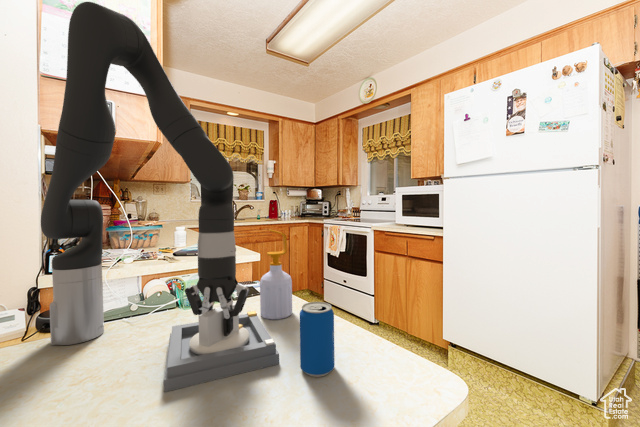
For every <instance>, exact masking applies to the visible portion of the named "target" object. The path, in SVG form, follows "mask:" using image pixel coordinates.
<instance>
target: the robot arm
mask: <svg viewBox="0 0 640 427" xmlns="http://www.w3.org/2000/svg"><path fill="white" fill-rule="evenodd" d="M148 39H149V38H148V37H147V36H146V34H145V32H144V31H143V29H142V28H141V27H140V25H139V24H138V23H137V22H136V21H134V20H133V19H132V18H130V17H128V16H127V15H125V14H123V13H120V12H117V11H115V10H113V9H110V8H108V7H106V6H103V5H101V4H99V3H97V2H96V3H95V2H92V1H83V2H81V3H79V4H78V5H77V6H75V8H74V9H73V10H72V13H71V16H70V19H69V23H68V33H67V56H66V58H67V61H66V80H65V87H64V94H63V103H62V109H61V113H60V119H59V123H58V129H57V134H56V142H55V150H54V151H55V152H54V160H53V166H52V171H51V176H50V181H49V184H48V188H47V191H46V194H45V199H44V202H43V206H42V209H41V215H40V229H41V232H42V234H43V235H44V236H45V237H46V238H47V239H50V240H51V239H52V240H64V239H66V240H67V239H81V240H80V242H79V244H77V245H75V246H74V247H72V248H70V249H69V250H65V251H64V252H62V253H61V252H60V253H58V254H56V255H55V256H53V257H52V260H51V269H52V270H51V271H52V272H51V273H52V275H51V276H52V294H53V295H52V298H53V299H52V301H51V302H50V303H49V326H50V328H49V330H50V346H56V345H57V346H58V345H59V346H67V345H68V346H69V345H76V344H80V343H85V342H88V341H90V340H94V339H95V338H97V337H100V336H102V335H103V334H104V332H105V319H104V318H105V317H104V292H103V291H104V289H103V260H102V258H103V248H104V247H103V246H104V245H103V239H104V238H103V237H104V236H103V234H104V212H103V208H102V206H101V204H100V203H99V201H97V200H96V199H95V200H94V199H72V197H73V195H74V193H75V192H76V191H77V189H78V188H80V186H81V185H82V184H83V183H85V182H86V181H87V180H88V179H89V178H91V177H92V176H94V175H95V174H96V173H97V172H98V171H99V170H100V169H101V168H103V167H104V166H105V165H106V163H107V162H108V161H109V160H110V158H111V156H112V151H113V147H114V143H115V139H116V133H117V132H116V131H117V130H116V125H115V120H114V117H113V115H112V113H111V112H112V111H111V109H110V106H109V104H108V101H107V96H106V85H107V78H108V74H109V73H108V72H109V70H110V67H111V65H115V66H119V67H123V68H124V69H125V70H127V71H128V72H129V73H130V75H131V76H133V78H134V79H135V80H136V81H137V83H138V85H140V86H141V88H142V90H143V92H144V95H145V96H146V99H147V102H148V103H147V104H148V107H149V111H150V114H151V117H152V120H153V121H154V123H155V125H156V127H157V128H158V130H159V131H160V133H161V134H162V136H164V137H165V139H166V140H167V142H168V143H169V144H170V145H171V147H172V148H173V149H174V150H175V152H176V153H177V154H178V155H179V156H180V157H181V158H182V160H183V162H184V163H185V165H186V166H187V167H188V169H189V171H190V172H191V174H192V175H193V177H194V178H195V179H196V181H197V182H198V183H199V185H200V206H199V209H198V216H197V217H198V238H197V276H198V281H197V282H196V284H193V285H191V286H188V287H186V288H185V289H184V293H185V296H186V298H187V301H188V304H189V307H190V308H191V310H192V313H193V315H194V316H197V315H198V316H199V315H201V314H203V313H205V312H208V311H210V310H212V309H214V305H215V303H219V306H221V309H223V314H224V319H223V335H224V336H228V335H229V334H230V333H231V332H232V331H233V316H237V315H238V314H239V315H240V313H242V311H243V309H244V307H245V304H246V301H247V298H248V296H249V293H250V290H251V289H250V286H248V285H246V286H243V285H241V284H239V281H238V280H237V278H236V276H237V275H236V274H237V273H236V272H237V269H236V267H237V258H236V257H237V256H236V255H237V254H236V253H237V247H236V238H235V237H236V236H235V218H234V216H235V214H234V209H233V208H234V207H233V202H234V200H233V198H234V172H233V167H232V166H231V164H230V163H229V161H228V160H227V158H226V157H225V156H224V155H223V153H222V152H221V151H220V150H219V149H218V148H217V146H216V145H215V144H214V143H213V142H212V141H211V140H210V138H209V137H208V135H207V133H206V131H205V130H204V129H203V127H202V125H201V124H200V123H199V121H198V120H197V119H196V117H195V116H194V115H193V114H192V112H191V110H190V109H189V108H188V106H186V105H187V104H185V103H184V101H183V100H182V98H181V96H180V95H179V93H178V91H177V90H176V89H175V88H174V85H173V83H172V82H171V80H170V79H169V76H168V75H167V72H166V71H165V69H164V68H163V66H162V64H161V62H160V60H159V58H158V57H157V54H156V53H155V51H154V49H153V46H152V45H151V43H150V41H149V40H148ZM235 291H236V296H237V300H236V302H235V303H236V304H235V307H234V308H233V302H234V299H233V296H232V295H234V293H235ZM200 293H201V295H202V296H203V298H201V297H200ZM202 299H203V300H202Z"/></svg>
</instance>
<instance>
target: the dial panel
mask: <svg viewBox="0 0 640 427" xmlns="http://www.w3.org/2000/svg"><path fill="white" fill-rule="evenodd" d="M239 324H241V325H243V328H246V329H247V330H248V331H249V341H248V342H247V344H246V345H244V346H242V347H237V348H232V349H228V350H223V351H218V352H213V353H209V354H204V355H197V354H195V353H193V352H191V350H190V345H189V342H190V339H191V338H192V337H193V336H194V335H196V334H197V333H199V321H196V322H189V323H185V324H178V325H173V326H171V333H170V334H169V340H168V347H167V354H166V362H165V371H164V378H163V387H164V390H163V392H164V393H167V392H170V391H175V390H177V389H178V390H179V389H183V388H186V387H191V386H195V385H200V384H203V383H207V382H211V381H216V380H218V379H219V380H220V379H222V378H227V377H232V376H235V375H239V374H243V373H247V372H252V371H256V370H259V369H264V368H268V367H272V366H277V365H279V364H280V353H279V351H278V350H277V344H276V342H275V341H274V340H275V339H274V338H272V336H271V335H270V333H269V331H268V330H267V329H266V327H265V325H264V324H263V323H262V321H261V319H260V318H259V316H258V313H257V311H255V310H252V311H247V313H246V314H239Z"/></svg>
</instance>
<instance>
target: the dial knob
mask: <svg viewBox="0 0 640 427" xmlns="http://www.w3.org/2000/svg"><path fill="white" fill-rule="evenodd" d="M235 304H236V302H234V301H233V308H234V307H235ZM239 315H240V313H239V314H238V315H237V316H233V331H232V332H231V333H230V334H229V335H228V336H224V335H223V319H224V314H223V309H221V306H220V305H219V306H217V307H215V308H213V309H212V310H210V311H208V312H205V313H203V314H201V315H198V316H197V317H198V322H199V333H197V334H196V335H194V336H193V337H192V338H191V339H190V342H189V345H190V350H191V352H193V353H195V354H197V355H204V354H209V353H213V352H218V351H223V350H228V349H232V348H237V347H242V346H244V345H246V344H247V342H248V341H249V331H248V330H247V329H246V328H243V325H241V324H239Z"/></svg>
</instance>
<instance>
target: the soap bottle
mask: <svg viewBox="0 0 640 427" xmlns="http://www.w3.org/2000/svg"><path fill="white" fill-rule="evenodd" d="M268 231H270V232H272V233H276V234H280V235H281V236H282V248H281V251H268V252H266V255H267V256H270V258H271V259H272V262H270V263H269V271H268V272H266V273H264V274H263V275H262V277H261V278H260V281H259V296H260V297H259V299H260V300H259V301H260V303H259V304H260V305H259V306H260V307H259V308H260V309H259V310H260V316H261V317H262V318H263V319H266V320H283V319H286V318H288V317H290V316H291V315H292V314H293V281H292V280H293V279H292V277H291V275H290V274H289V273H287V272H286V271H284V270H283V269H282V266H283V265H282V261H280V258H281V256H283V255H286V253H287V251H288V250H287V249H288V248H287V246H288V245H287V235H286V234H285V233H283V232H281V231H278V230H276V229H271V228H269V229H268Z"/></svg>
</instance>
